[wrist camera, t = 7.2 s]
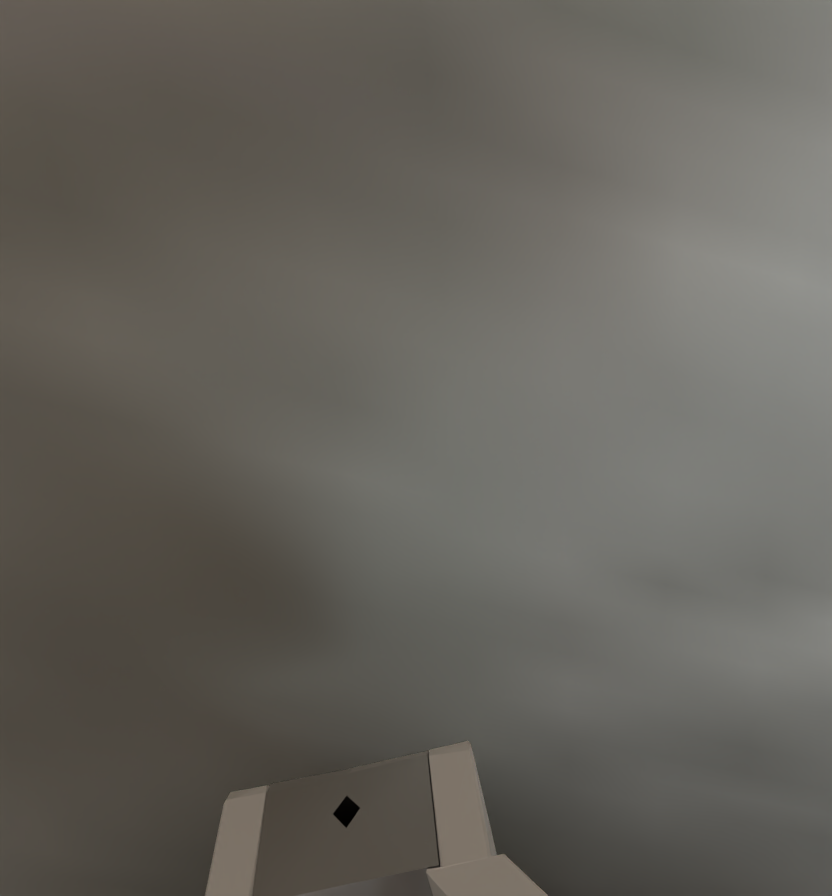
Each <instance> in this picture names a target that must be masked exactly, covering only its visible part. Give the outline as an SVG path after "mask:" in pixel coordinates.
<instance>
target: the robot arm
mask: <svg viewBox="0 0 832 896" xmlns="http://www.w3.org/2000/svg"><path fill="white" fill-rule="evenodd" d="M205 896H548V895H547V894H546V893H545V892H544V891H543V890H542V889H541V888H540V887H539V886H538V885H537V884H535V883H534V882H533V881H532V880H531V879H530V878H529V877H528V876H527V875H526V874H525V873H524V872H523V871H522V870H521V869H520V868H519V867H518V866H516V865H515V864H514V863H513V862H512V861H511V860H510V859H509V858H508V857H507V856H506V855H505V854H501V855H497V853H496V849H495V845H494V840H493V836H492V831H491V827H490V823H489V818H488V814H487V810H486V806H485V801H484V797H483V793H482V788H481V784H480V780H479V776H478V771H477V767H476V763H475V759H474V754H473V750H472V747H471V744H470V742H469V741H465V742H461V743H456V744H452V745H448V746H443V747H439V748H435V749H430V750H428V751H423V752H419V753H414V754H410V755H405V756H401V757H397V758H392V759H388V760H383V761H379V762H374V763H370V764H365V765H361V766H357V767H352V768H350V769H345V770H339V771H334V772H329V773H324V774H318V775H313V776H308V777H302V778H297V779H292V780H287V781H281V782H276V783H271V785H266V786H261V787H255V788H250V789H244V790H239V791H233V792H230V794H229V795H228V797H227V799H226V801H225V802H224V804H223V809H222V814H221V819H220V824H219V829H218V834H217V838H216V843H215V848H214V853H213V858H212V863H211V868H210V873H209V878H208V883H207V888H206V893H205Z"/></svg>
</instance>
